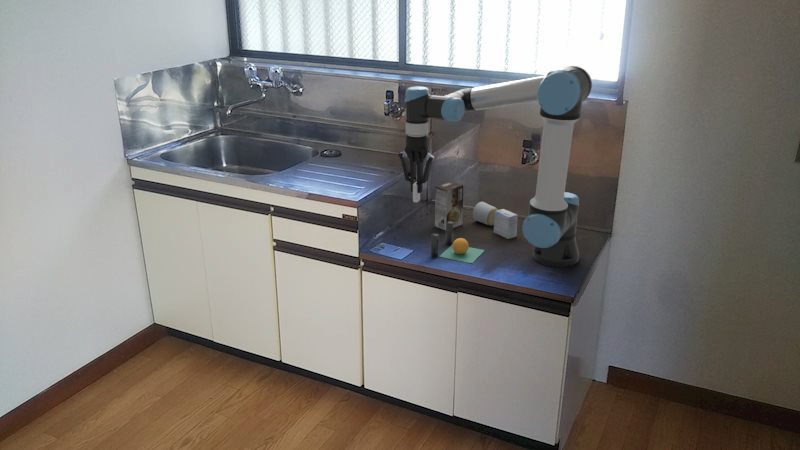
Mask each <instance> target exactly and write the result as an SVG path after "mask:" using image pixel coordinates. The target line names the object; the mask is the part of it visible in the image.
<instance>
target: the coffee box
mask: <svg viewBox="0 0 800 450" xmlns="http://www.w3.org/2000/svg"><path fill="white" fill-rule="evenodd" d="M434 191H435V192H434V193H435V198H434V199H435V200H434V202H435V203H434V206H435V207H434V227H436V228H437V229H441V230H443V231H446V222H447V221H452V222H453V229H454V228H457V227H461V226H462V225H463V222H464V221H463V220H464V219H463V218H464V215H463V213H464V212H463V211H464V184H461V183H459V182H456V181H453V180H451V181H448V182H445V183H442V184H438V185H436V186H435V190H434Z"/></svg>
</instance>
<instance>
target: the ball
mask: <svg viewBox="0 0 800 450" xmlns="http://www.w3.org/2000/svg"><path fill="white" fill-rule="evenodd" d="M469 246H470V245H469V242H468V241H467V240H466V239H465V238H463V237H459V238H456V239H454V240H453V250H454V251H455V252H456V253H457V254H464V253H465V252H467V250H468V247H469Z"/></svg>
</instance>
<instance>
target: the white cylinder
mask: <svg viewBox="0 0 800 450" xmlns="http://www.w3.org/2000/svg"><path fill="white" fill-rule="evenodd" d="M497 210H499V209H498V208H497V207H496V206H493V205H491V204H488V203H486V202H485V201H479V202H478V203H476V205H475V206H474V208H473V211H472V218H473V219H474V220H475V221H477V222H479V223H481V224H484V225H486V226H494V215H495V211H497Z"/></svg>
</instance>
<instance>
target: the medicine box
mask: <svg viewBox="0 0 800 450" xmlns="http://www.w3.org/2000/svg"><path fill="white" fill-rule="evenodd" d="M518 216H519V215H518V214H517V213H515V212H512V211H510V210H507V209H505V208H502V209H498V210H497V211H495V215H494V225H493V233H494V234H496V235H498V236H501V237H502V238H505V239H507V240H509V239H513V238H516V237H517V236H518V235H517V234H518V233H517V232H518V230H517V229H518Z"/></svg>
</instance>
